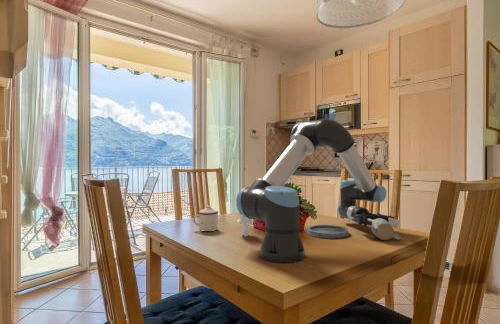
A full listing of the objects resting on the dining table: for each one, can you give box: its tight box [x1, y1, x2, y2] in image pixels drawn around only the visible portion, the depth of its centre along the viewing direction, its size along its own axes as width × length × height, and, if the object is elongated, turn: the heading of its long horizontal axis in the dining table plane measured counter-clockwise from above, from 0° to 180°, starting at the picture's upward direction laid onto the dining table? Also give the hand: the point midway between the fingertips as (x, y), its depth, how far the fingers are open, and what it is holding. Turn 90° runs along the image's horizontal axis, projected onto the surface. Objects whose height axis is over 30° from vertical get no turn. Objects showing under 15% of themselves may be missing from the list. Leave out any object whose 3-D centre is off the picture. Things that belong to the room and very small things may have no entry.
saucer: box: [306, 224, 350, 240], centre depth 133 cm, size 18×18×2 cm
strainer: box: [236, 212, 254, 237], centre depth 131 cm, size 7×7×15 cm
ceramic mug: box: [370, 218, 402, 241], centre depth 121 cm, size 11×8×8 cm
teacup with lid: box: [192, 205, 219, 231], centre depth 142 cm, size 12×9×12 cm
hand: (388, 224), depth 118 cm, fingers closed on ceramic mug, 9 cm apart
